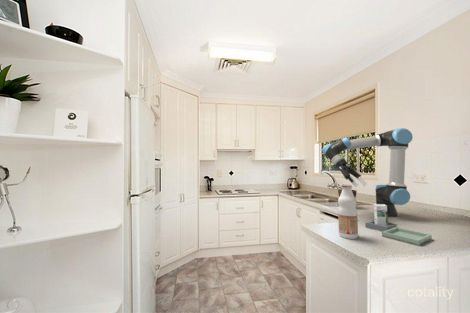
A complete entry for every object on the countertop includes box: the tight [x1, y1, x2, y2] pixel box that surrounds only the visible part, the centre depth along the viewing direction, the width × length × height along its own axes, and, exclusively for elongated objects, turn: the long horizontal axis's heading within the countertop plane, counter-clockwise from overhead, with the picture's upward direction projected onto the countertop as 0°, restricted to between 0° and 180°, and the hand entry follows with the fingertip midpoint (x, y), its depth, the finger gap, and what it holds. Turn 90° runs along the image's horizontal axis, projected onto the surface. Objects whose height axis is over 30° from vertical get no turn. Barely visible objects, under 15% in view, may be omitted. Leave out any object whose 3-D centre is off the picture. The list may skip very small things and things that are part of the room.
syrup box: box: [373, 203, 389, 226], centre depth 133 cm, size 6×6×14 cm
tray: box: [381, 226, 433, 246], centre depth 114 cm, size 16×16×2 cm
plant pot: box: [337, 188, 357, 199], centre depth 193 cm, size 15×15×16 cm
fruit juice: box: [337, 184, 359, 240], centre depth 119 cm, size 9×9×28 cm
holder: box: [365, 220, 398, 232], centre depth 132 cm, size 12×12×3 cm
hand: (361, 185), depth 143 cm, fingers open, 13 cm apart
